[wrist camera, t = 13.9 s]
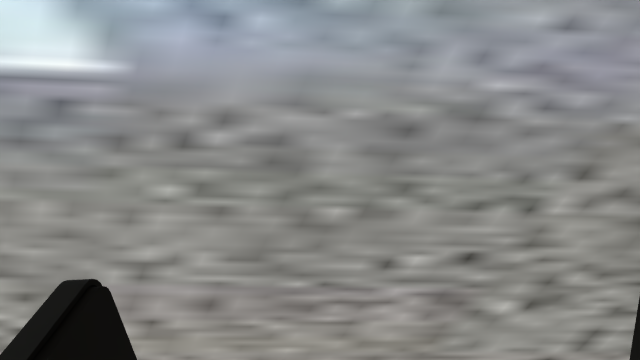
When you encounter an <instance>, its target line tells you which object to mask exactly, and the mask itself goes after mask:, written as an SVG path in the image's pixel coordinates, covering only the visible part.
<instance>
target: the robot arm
mask: <svg viewBox="0 0 640 360" xmlns="http://www.w3.org/2000/svg"><path fill="white" fill-rule="evenodd" d="M0 360H137V358H136V356H135V353H134V351H133V348H132V346H131V343H130V340H129V338H128V335H127V333H126V330H125V328H124V325H123V323H122V320H121V318H120V315H119V313H118V310H117V307H116V305H115V302H114V300H113V297H112V295H111V292H110V291H109V289H108V288H107V287H104V286H102V285H101V283H100V282H99V281H98V280H95V279H85V280H67V281H64V282H62V283H61V284H60V285H59V286H58V287H57V288H56V289H55V290H54V292H53V293H52V294H51V295H50V296H49V298H48V299H47V300H46V301H45V302H44V303H43V305H42V306H41V307H40V308H39V309H38V311H37V312H36V313H35V314H34V315H33V317H32V318H31V319H30V320H29V321H28V323H27V324H26V325H25V326H24V327H23V328H22V330H21V331H20V332H19V333H18V334H17V336H16V337H15V338H14V339H13V340H12V342H11V343H10V344H9V345H8V346H7V348H6V349H5V350H4V351H3V352H2V353H1V355H0ZM630 360H640V298H639V304H638V310H637V317H636V323H635V329H634V335H633V342H632V348H631V354H630Z"/></svg>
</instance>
